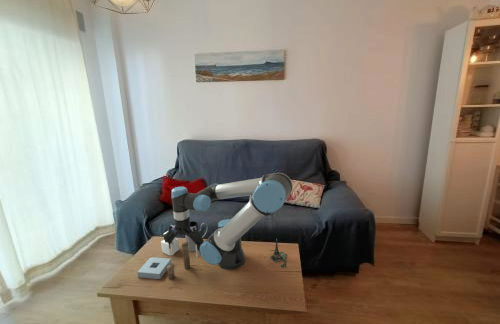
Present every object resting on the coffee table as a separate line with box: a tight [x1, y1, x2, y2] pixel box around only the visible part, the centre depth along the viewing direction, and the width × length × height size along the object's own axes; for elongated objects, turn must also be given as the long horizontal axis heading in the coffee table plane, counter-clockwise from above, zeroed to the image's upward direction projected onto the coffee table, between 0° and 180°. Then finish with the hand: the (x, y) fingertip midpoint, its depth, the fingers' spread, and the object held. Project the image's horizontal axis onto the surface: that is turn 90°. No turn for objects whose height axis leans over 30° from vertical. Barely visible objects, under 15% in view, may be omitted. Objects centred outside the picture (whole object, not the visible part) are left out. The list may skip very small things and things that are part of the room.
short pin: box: [166, 264, 175, 280], centre depth 118 cm, size 3×3×6 cm
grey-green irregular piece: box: [269, 238, 288, 269], centre depth 128 cm, size 15×10×13 cm
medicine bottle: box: [160, 230, 180, 256], centre depth 139 cm, size 7×7×12 cm
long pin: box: [181, 241, 191, 270], centre depth 124 cm, size 3×3×14 cm
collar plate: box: [136, 257, 173, 280], centre depth 124 cm, size 12×12×3 cm
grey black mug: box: [184, 220, 209, 252], centre depth 143 cm, size 9×14×15 cm, turn 118°
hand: (185, 254), depth 124 cm, fingers open, 13 cm apart
